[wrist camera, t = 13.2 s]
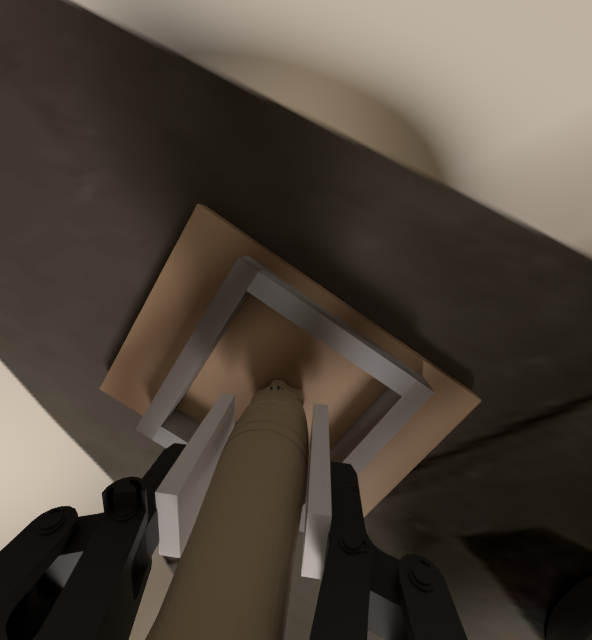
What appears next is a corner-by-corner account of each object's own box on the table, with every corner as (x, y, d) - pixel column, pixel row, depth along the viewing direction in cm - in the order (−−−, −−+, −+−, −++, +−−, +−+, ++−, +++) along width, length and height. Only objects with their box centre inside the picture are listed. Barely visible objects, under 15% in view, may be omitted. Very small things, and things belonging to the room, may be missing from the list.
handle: (227, 366, 18) (-116, 817, 4) (330, 364, 18) (364, 893, 3) (235, 433, 20) (-4, 962, 5) (332, 433, 19) (363, 1037, 5)
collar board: (472, 390, 19) (501, 420, 16) (340, 524, 22) (343, 569, 19) (206, 206, 17) (180, 198, 14) (111, 381, 21) (75, 405, 18)
